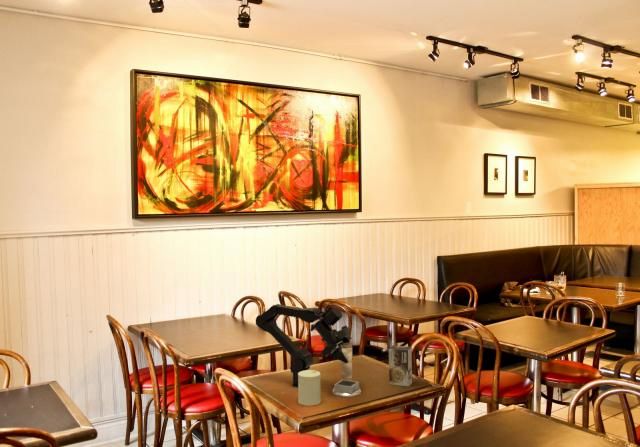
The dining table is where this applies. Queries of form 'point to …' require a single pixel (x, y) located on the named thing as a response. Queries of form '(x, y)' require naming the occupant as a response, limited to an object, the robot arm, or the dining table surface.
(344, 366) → the cream tall cylinder
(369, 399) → the dining table surface
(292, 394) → the dining table surface
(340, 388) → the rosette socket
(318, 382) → the can
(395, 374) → the coffee box
